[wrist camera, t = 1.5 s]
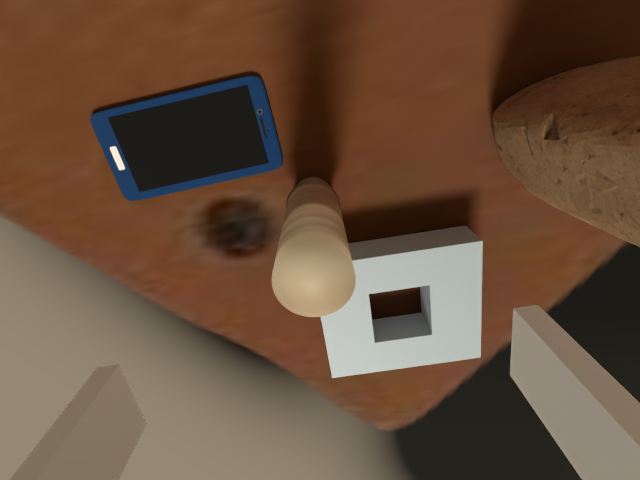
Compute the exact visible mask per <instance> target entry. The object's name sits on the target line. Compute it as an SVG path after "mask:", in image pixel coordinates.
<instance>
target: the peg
mask: <svg viewBox="0 0 640 480" xmlns="http://www.w3.org/2000/svg"><path fill="white" fill-rule="evenodd" d="M355 284H356V276H355V271H354V267H353V262H352V258H351V254H350V249H349V245H348V241H347V236H346V232H345V228H344V223H343V219H342V214H341V210H340V201H339V198H338V195H337V193H336V192H335V190H334V189H333V188H332V187H331V186H329V185H328V183H327V182H326V181H325V180H323V179H321V178H319V177H307V178H305V179H303V180H301V181H300V182H299V183H298V185H297V186H296V187H294V188H293V190H292V191H291V192H290V194H289V196H288V198H287V202H286V212H285V216H284V221H283V226H282V231H281V235H280V240H279V245H278V250H277V254H276V259H275V264H274V268H273V273H272V287H273V291H274V293H275V296H276V297H277V299H278V300H279V302H280V303H281V304H282V305H283V306H284V307H285V308H287V309H288V310H290V311H291V312H293V313H296V314H298V315H302V316H307V317H321V316H326V315H329V314H331V313H334V312H336V311H337V310H339V309H340V308H342V307H343V306H344V305H345V304H346V303H347V302H348V301H349V299H350V298H351V296H352V294H353V292H354V289H355Z"/></svg>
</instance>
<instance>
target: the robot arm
mask: <svg viewBox="0 0 640 480" xmlns="http://www.w3.org/2000/svg"><path fill="white" fill-rule="evenodd" d="M511 346H512V347H511V363H510V375H511V377H512V378H513V380H514V381H515V383H516V384H517V386H518V387H519V389H520V390H521V392H522V393H523V394H524V396H525V397H526V399H527V400H528V402H529V403H530V405H531V406H532V407H533V409H534V410H535V412H536V413H537V415H538V416H539V418H540V419H541V420H542V422H543V423H544V425H545V426H546V428H547V429H548V430H549V432H550V434H551V435H552V437H553V438H554V439H555V441H556V442H557V444H558V445H559V447H560V448H561V450H562V451H563V453H564V454H565V455H566V457H567V458H568V460H569V461H570V463H571V464H572V466H573V467H574V469H575V470H576V471H577V473H578V474H579V476H580V477H581V479H582V480H640V403H639V402H638V401H637V400H636V399H635V398H634V397H633V396H632V395H631V394H630V393H629V392H628V391H627V390H626V389H625V388H624V387H623V386H621V385H620V384H619V383H618V382H617V381H616V380H615V379H614V378H613V377H612V376H611V375H610V374H609V373H608V372H607V371H606V370H605V369H604V368H603V367H602V366H600V364H599V363H598V362H597V361H595V360H594V359H593V358H592V357H591V356H590V355H589V354H588V353H587V352H586V351H585V350H584V349H583V348H582V347H581V346H580V345H579V344H578V343H577V342H576V341H575V340H574V339H573V338H572V337H571V336H569V335H568V334H567V333H566V332H565V331H564V330H563V329H562V328H561V327H560V326H559V325H558V324H557V323H556V322H555V321H554V320H553V319H552V318H551V317H550V316H549V315H548V314H547V313H546V312H545V311H544V310H542V309H541V308H540V307H539V306H538V305H533V306H526V307H519V308H513V325H512V344H511ZM146 424H147V423H146V421H145V419H144V417H143V415H142V412H141V410H140V408H139V406H138V404H137V402H136V400H135V398H134V396H133V393H132V392H131V389H130V387H129V385H128V383H127V381H126V379H125V376H124V374H123V372H122V370H121V368H120V366H119V365H112V366H106V367H98V368H97V369H96V370H95V371H94V372H93V374H92V375H91V376H90V377H89V379H88V380H87V381H86V383H85V384H84V385H83V386H82V388H81V389H80V390H79V392H78V393H77V394H76V395H75V397H74V398H73V399H72V401H71V402H70V403H69V404H68V406H67V407H66V408H65V410H64V411H63V412H62V414H61V415H60V416H59V417H58V419H57V420H56V421H55V422H54V424H53V425H52V426H51V428H50V429H49V430H48V432H47V433H46V434H45V435H44V437H43V438H42V439H41V440H40V442H39V443H38V444H37V446H36V447H35V448H34V449H33V451H32V452H31V453H30V455H29V456H28V457H27V458H26V460H25V461H24V462H23V464H22V465H21V466H20V467H19V469H18V470H17V471H16V473H15V474H14V475H13V477H12V478H11V479H10V480H119V478H120V476H121V474H122V472H123V470H124V468H125V466H126V464H127V462H128V460H129V458H130V455H131V454H132V452H133V450H134V448H135V446H136V444H137V442H138V440H139V438H140V436H141V434H142V432H143V430H144V428H145V426H146Z"/></svg>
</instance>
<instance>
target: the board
mask: <svg viewBox="0 0 640 480" xmlns="http://www.w3.org/2000/svg"><path fill="white" fill-rule="evenodd" d="M348 245H349V249H350V254H351V258H352V262H353V267H354V271H355V276H356V284H355V289H354V292H353V294H352V296H351V298H350V299H349V301H348V302H347V303H346V304H345V305H344V306H343V307H342V308H340V309H339V310H337V311H336V312H334V313H331V314H329V315H326V316H321V321H322V326H323V331H324V337H325V342H326V347H327V352H328V358H329V363H330V368H331V373H332V378H336V377H343V376H350V375H357V374H365V373H372V372H379V371H386V370H393V369H401V368H408V367H415V366H422V365H430V364H437V363H444V362H451V361H458V360H466V359H473V358H480V357H481V308H482V250H483V241H482V240H481V239H480V238H479V237H478V236H477V235H476V234H475V233H474V232H472V231H471V230H470V229H469V228H468V227H467V226H466V225H465V226H459V227H452V228H446V229H440V230H433V231H427V232H420V233H414V234H407V235H401V236H394V237H388V238H381V239H375V240H368V241H362V242H355V243H349V244H348ZM414 287H420V298H421V313H414V314H407V315H401V316H394V317H387V318H380V319H373V320H372V316H371V308H370V300H369V294H374V293H380V292H387V291H394V290H401V289H407V288H414Z"/></svg>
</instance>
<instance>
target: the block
mask: <svg viewBox="0 0 640 480" xmlns="http://www.w3.org/2000/svg"><path fill="white" fill-rule="evenodd" d="M493 127H494V138H495V142H496V147H497V150H498V153H499V155H500V158H501V160H502V162H503V163H504V165H505V166H506V168H507V169H508V170H509V171H510V172H511V173H512V174H513V176H514V177H516V178H517V179H518V180H519V181H520V183H521V184H522V185H523V187H524V188H525V189H526V190H527V191H529V192H530V193H531V194H532V195H534V196H537V197H538V198H540V199H542V200H543V201H545V202H546V203H548V204H550V205H551V206H553V207H555V208H558V209H560V210H562V211H564V212H566V213H568V214H570V215H572V216H574V217H576V218H578V219H581V220H583V221H585V222H587V223H589V224H591V225H593V226H595V227H597V228H599V229H601V230H603V231H605V232H608V233H610V234H612V235H614V236H616V237H619V238H621V239H623V240H625V241H628V242H630V243H632V244H635V245H637V246H639V247H640V55H636V56H631V57H626V58H619V59H615V60H610V61H607V62H602V63H597V64H593V65H589V66H584V67H580V68H577V69H573V70H569V71H567V72H564V73H560V74H557V75H554V76H552V77H549V78H546V79H544V80H542V81H539V82H537V83H535V84H532V85H530V86H528V87H526V88H524V89H522V90H520V91H519V92H517V93H516V94H514V95H513V96H511V97H509V98H507V99H506V100H505V101H504V102H503V103H501V104H500V105H499V106H498V107H497V109H496V110H495V111H494V114H493Z"/></svg>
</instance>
